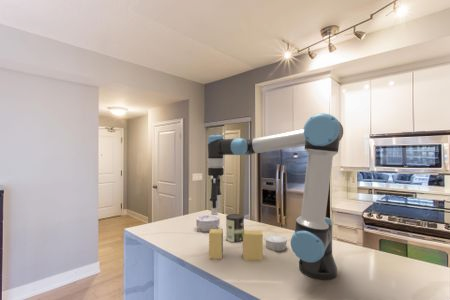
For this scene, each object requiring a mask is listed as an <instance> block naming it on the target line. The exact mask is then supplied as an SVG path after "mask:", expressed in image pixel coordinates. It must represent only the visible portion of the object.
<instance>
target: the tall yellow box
mask: <svg viewBox="0 0 450 300" xmlns="http://www.w3.org/2000/svg"><path fill="white" fill-rule="evenodd" d="M263 241H264V239H263V231H262V230H245V229H244V230H243V241H242V260H244V261H245V260H247V261H248V260H249V261H263V259H264V258H263V256H264V253H263V250H264V247H263V244H264V243H263Z"/></svg>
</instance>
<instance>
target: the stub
mask: <svg viewBox="0 0 450 300" xmlns="http://www.w3.org/2000/svg"><path fill="white" fill-rule="evenodd" d="M223 253H224V229H222V228H220V229H219V228H216V229H210V232H208V258H209V260H211V259H216V260H222V259H223Z"/></svg>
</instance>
